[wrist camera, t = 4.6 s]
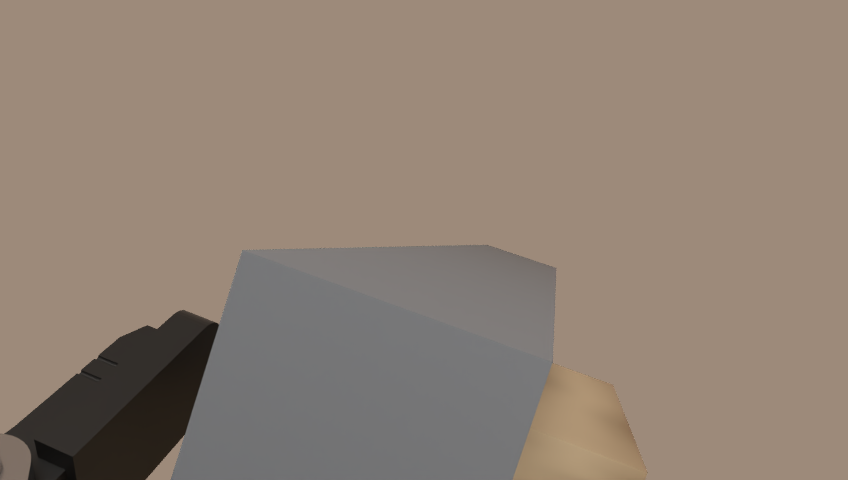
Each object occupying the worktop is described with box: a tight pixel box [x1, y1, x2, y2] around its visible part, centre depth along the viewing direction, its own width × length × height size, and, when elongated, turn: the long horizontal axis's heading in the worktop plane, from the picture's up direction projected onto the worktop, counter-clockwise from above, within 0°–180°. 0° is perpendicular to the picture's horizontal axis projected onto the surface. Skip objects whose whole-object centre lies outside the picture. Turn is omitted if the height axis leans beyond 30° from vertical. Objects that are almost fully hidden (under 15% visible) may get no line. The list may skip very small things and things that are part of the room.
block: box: [171, 245, 556, 480], centre depth 23 cm, size 4×30×4 cm, turn 168°
